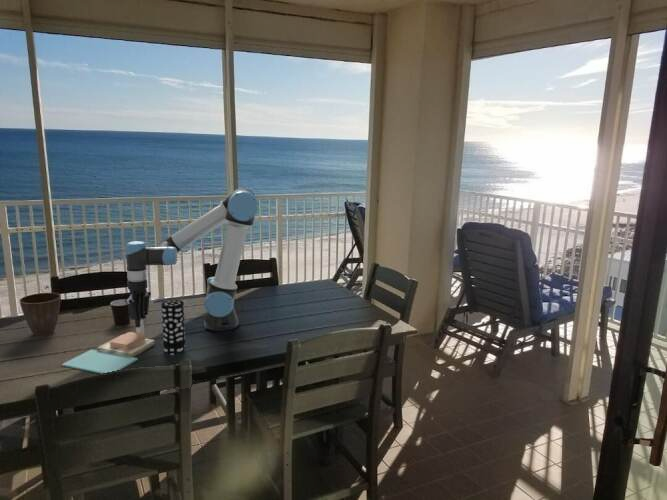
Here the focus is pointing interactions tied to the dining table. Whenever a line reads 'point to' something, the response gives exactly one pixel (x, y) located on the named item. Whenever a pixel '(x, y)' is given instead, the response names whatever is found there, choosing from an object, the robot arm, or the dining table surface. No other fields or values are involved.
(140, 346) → the board
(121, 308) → the coffee mug
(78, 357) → the teal mat
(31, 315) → the plant pot
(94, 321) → the dining table surface
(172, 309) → the white-spotted black cylinder
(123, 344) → the terracotta tile
